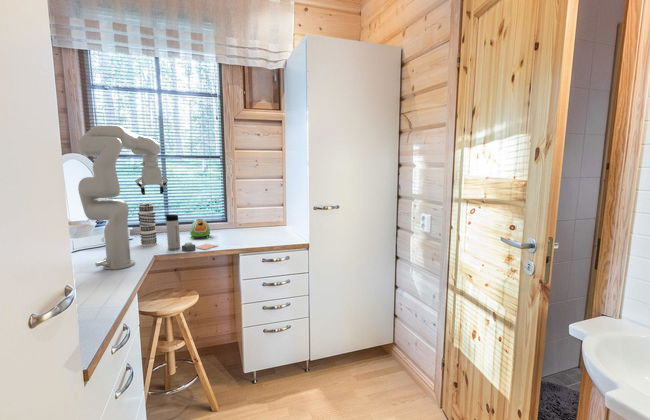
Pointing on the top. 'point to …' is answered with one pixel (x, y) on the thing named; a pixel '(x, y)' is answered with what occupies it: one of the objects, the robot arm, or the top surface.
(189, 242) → the button
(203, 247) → the picture square
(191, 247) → the button base
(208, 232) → the turtle holder
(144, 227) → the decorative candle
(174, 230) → the travel mug
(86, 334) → the top surface
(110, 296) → the top surface
